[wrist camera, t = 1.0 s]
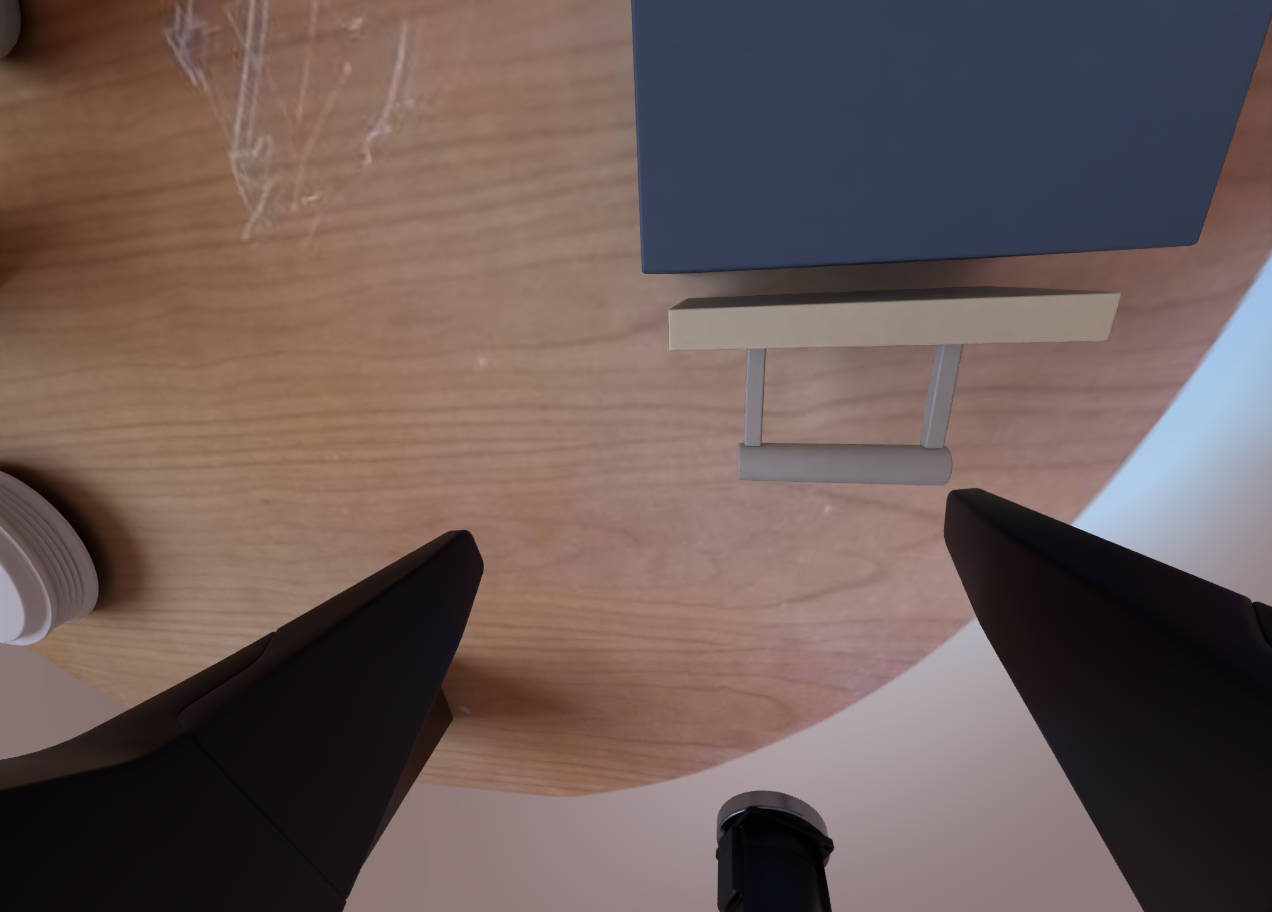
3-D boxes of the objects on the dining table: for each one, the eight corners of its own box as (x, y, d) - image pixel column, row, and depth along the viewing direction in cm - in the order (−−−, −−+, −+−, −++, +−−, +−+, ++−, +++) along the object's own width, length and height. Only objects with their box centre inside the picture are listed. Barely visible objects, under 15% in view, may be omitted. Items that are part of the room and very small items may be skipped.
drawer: (955, 445, 20) (1057, 520, 14) (687, 441, 22) (672, 506, 16) (1094, -263, 13) (1423, -742, 7) (682, -173, 15) (650, -480, 9)
